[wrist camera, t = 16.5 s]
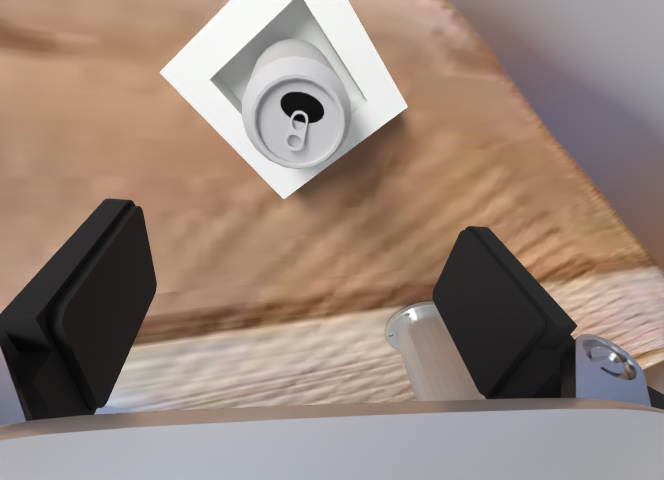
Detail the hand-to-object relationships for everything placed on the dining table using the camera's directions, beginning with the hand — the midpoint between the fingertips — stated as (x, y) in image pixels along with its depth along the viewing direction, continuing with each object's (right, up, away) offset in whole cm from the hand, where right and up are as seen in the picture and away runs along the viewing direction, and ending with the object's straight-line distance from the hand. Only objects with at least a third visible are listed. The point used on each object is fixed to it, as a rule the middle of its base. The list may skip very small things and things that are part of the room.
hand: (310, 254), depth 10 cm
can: (-3, +15, +21) cm, 26 cm away
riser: (-4, +17, +23) cm, 29 cm away
